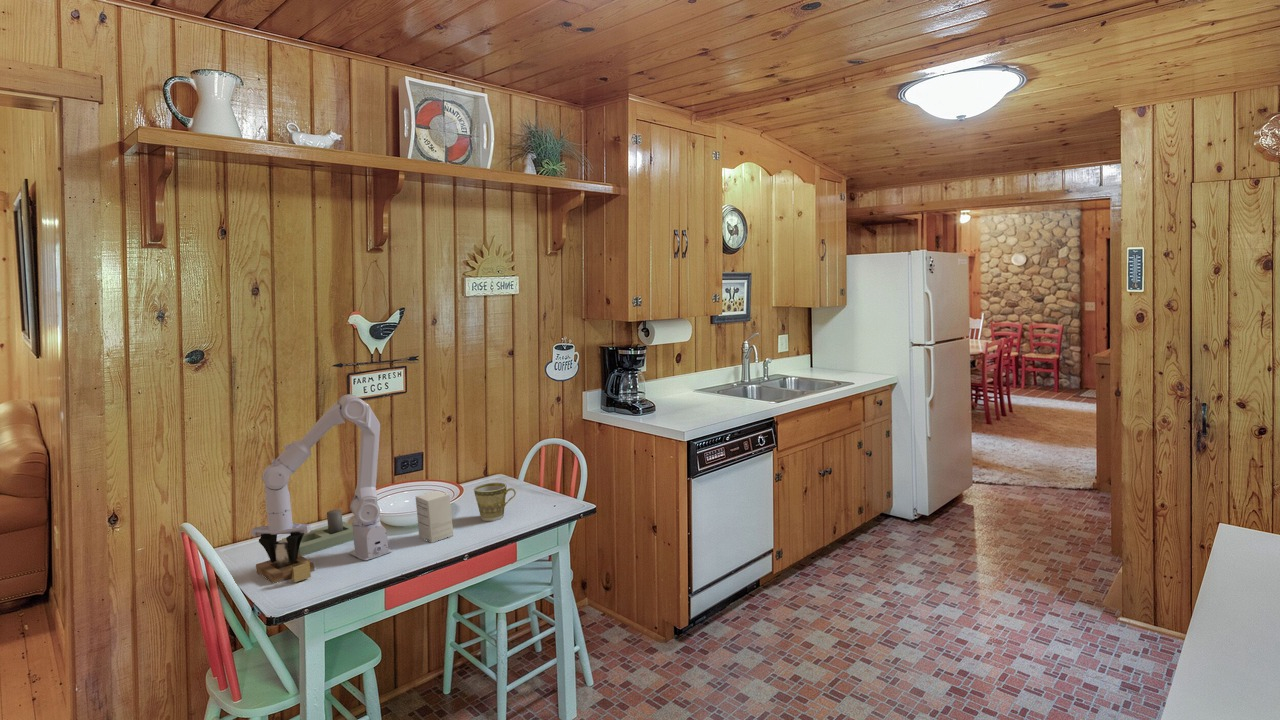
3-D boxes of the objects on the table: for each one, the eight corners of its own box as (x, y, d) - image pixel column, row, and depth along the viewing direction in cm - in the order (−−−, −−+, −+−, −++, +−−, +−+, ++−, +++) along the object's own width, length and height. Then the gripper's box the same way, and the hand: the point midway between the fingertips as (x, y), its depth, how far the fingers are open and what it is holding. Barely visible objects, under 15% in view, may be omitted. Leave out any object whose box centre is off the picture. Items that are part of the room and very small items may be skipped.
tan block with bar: (310, 577, 179) (309, 561, 179) (294, 582, 176) (293, 567, 176) (297, 569, 185) (295, 554, 184) (281, 574, 182) (279, 559, 181)
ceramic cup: (471, 523, 216) (469, 491, 215) (482, 512, 226) (480, 482, 225) (512, 523, 214) (510, 491, 213) (521, 512, 224) (519, 481, 223)
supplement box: (441, 530, 211) (437, 489, 209) (454, 536, 205) (450, 494, 204) (418, 538, 205) (414, 495, 204) (430, 543, 200) (427, 500, 199)
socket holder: (314, 570, 185) (313, 562, 184) (274, 583, 177) (273, 575, 177) (295, 560, 193) (294, 552, 192) (256, 572, 185) (255, 564, 185)
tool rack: (362, 537, 209) (359, 510, 208) (300, 556, 195) (297, 528, 195) (343, 529, 217) (341, 503, 216) (282, 547, 203) (280, 520, 203)
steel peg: (296, 570, 185) (293, 541, 184) (280, 575, 182) (277, 546, 181) (290, 567, 188) (287, 538, 187) (274, 572, 185) (271, 542, 184)
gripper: (313, 504, 187) (318, 553, 189) (258, 507, 187) (264, 556, 188) (301, 512, 180) (307, 563, 182) (244, 515, 180) (250, 566, 181)
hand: (284, 560), depth 185 cm, fingers open, 5 cm apart
